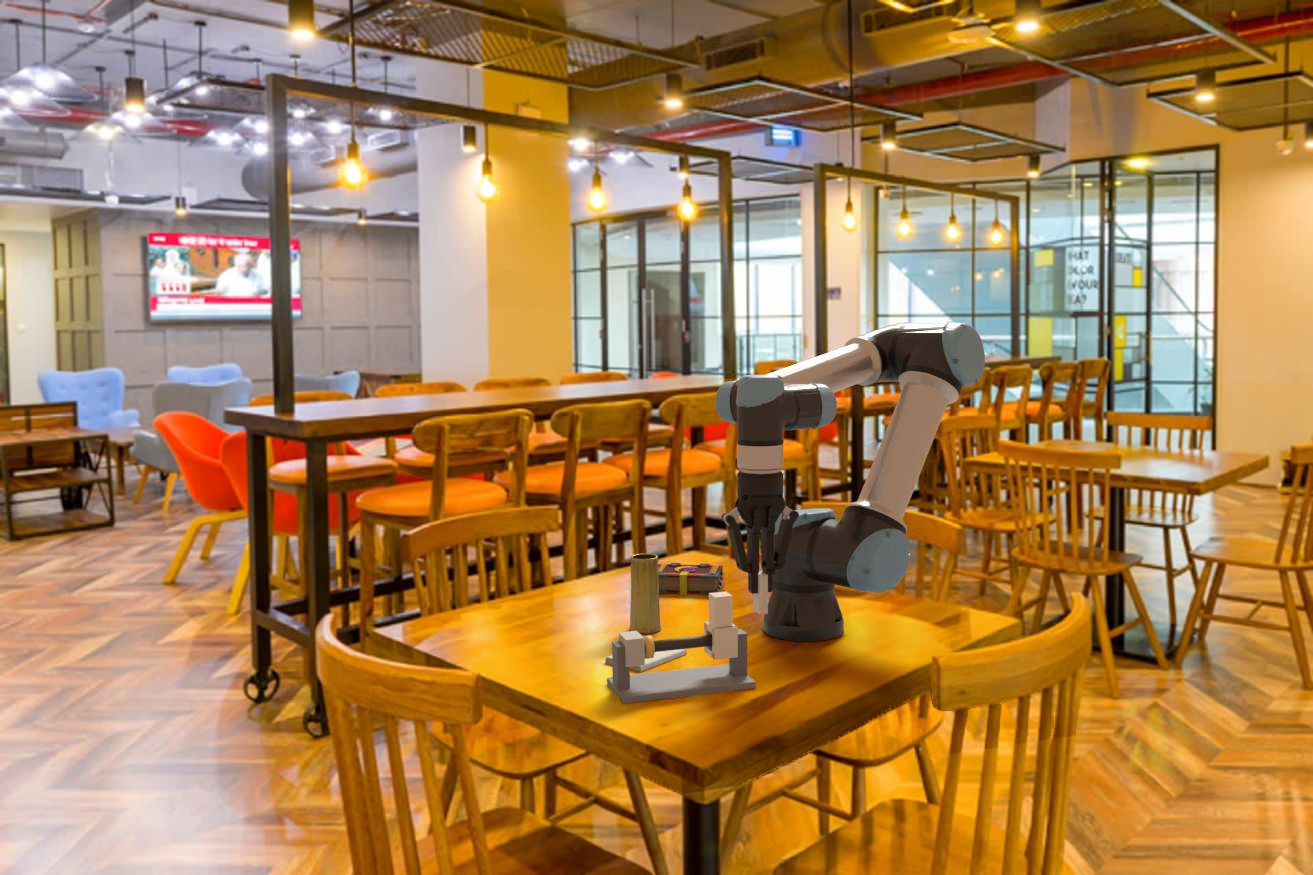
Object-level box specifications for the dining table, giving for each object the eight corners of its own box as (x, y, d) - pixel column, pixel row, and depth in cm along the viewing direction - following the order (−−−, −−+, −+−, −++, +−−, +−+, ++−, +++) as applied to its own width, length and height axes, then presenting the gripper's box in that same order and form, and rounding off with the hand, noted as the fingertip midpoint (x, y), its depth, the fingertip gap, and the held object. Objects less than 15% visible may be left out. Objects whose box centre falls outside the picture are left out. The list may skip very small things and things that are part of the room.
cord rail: (732, 669, 186) (732, 616, 185) (755, 687, 177) (755, 631, 176) (607, 683, 180) (606, 628, 179) (623, 703, 170) (622, 645, 169)
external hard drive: (605, 665, 191) (651, 648, 200) (641, 675, 186) (686, 656, 195) (605, 656, 191) (651, 639, 200) (641, 665, 185) (686, 648, 195)
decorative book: (657, 582, 249) (657, 560, 249) (728, 584, 247) (728, 562, 246) (649, 594, 238) (648, 572, 238) (723, 596, 236) (723, 574, 235)
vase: (667, 628, 211) (666, 555, 209) (645, 635, 206) (644, 561, 205) (644, 623, 215) (643, 551, 213) (622, 629, 210) (621, 556, 209)
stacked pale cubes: (727, 648, 183) (726, 589, 182) (737, 657, 178) (737, 596, 177) (704, 651, 181) (703, 591, 180) (714, 659, 177) (714, 598, 176)
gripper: (787, 465, 184) (787, 602, 187) (714, 469, 180) (715, 609, 183) (806, 470, 177) (806, 614, 180) (731, 475, 173) (731, 621, 176)
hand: (760, 611), depth 181 cm, fingers closed
